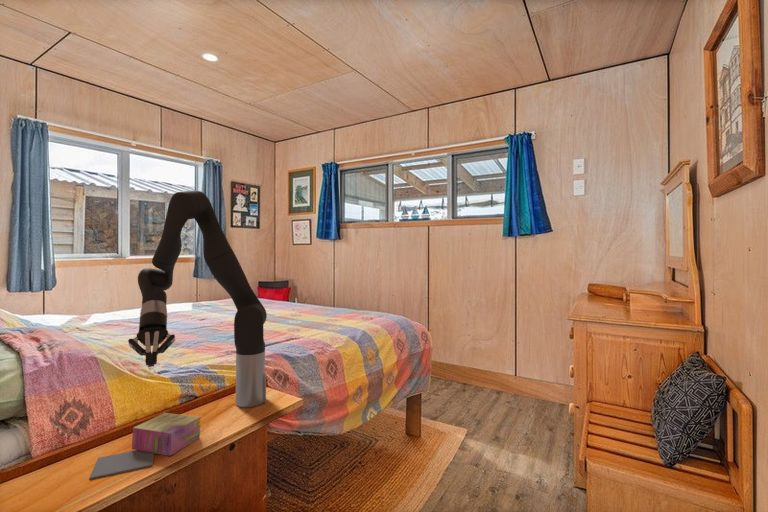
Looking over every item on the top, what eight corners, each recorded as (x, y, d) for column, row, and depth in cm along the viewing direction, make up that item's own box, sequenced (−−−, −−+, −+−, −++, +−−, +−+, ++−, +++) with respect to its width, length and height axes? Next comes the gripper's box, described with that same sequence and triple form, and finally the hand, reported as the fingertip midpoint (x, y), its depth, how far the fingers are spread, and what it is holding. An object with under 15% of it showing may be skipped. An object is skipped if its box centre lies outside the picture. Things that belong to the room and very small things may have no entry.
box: (131, 450, 95) (170, 456, 92) (132, 427, 95) (171, 432, 93) (163, 433, 105) (200, 437, 102) (164, 412, 105) (200, 416, 103)
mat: (155, 447, 97) (155, 446, 97) (152, 466, 89) (152, 464, 89) (98, 459, 91) (98, 457, 91) (89, 479, 83) (89, 478, 83)
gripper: (127, 312, 116) (122, 362, 105) (176, 308, 122) (175, 355, 112) (130, 326, 121) (125, 375, 110) (177, 322, 127) (177, 368, 116)
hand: (151, 365), depth 111 cm, fingers closed
